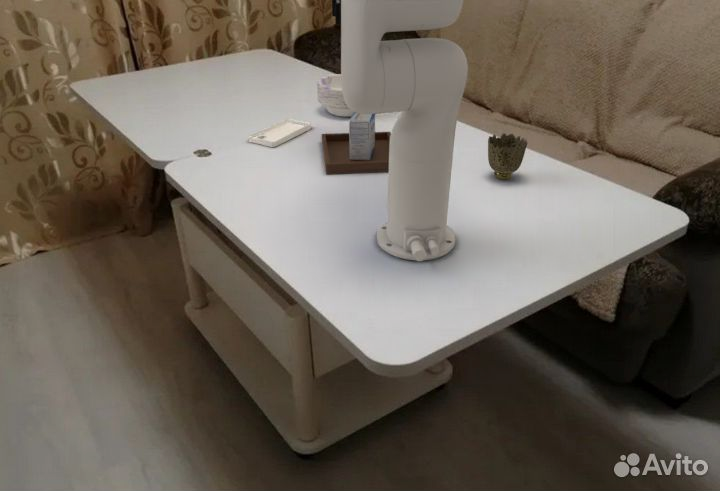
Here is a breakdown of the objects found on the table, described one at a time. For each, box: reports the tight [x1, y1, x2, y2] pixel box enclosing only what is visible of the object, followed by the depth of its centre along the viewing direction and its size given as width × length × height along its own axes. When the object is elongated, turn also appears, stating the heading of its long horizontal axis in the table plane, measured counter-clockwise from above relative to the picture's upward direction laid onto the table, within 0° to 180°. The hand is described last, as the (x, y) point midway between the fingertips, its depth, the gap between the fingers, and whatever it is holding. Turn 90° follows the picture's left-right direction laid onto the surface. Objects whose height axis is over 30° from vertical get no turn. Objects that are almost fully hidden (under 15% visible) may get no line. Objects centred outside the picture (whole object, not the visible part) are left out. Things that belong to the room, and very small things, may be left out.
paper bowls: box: [316, 73, 354, 118], centre depth 152 cm, size 15×15×8 cm
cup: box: [487, 132, 529, 181], centre depth 116 cm, size 8×7×8 cm
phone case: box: [248, 118, 312, 148], centre depth 139 cm, size 7×1×15 cm
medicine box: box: [348, 112, 376, 161], centre depth 125 cm, size 8×4×9 cm, turn 172°
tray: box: [321, 131, 392, 175], centre depth 127 cm, size 18×16×2 cm
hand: (341, 20), depth 122 cm, fingers open, 9 cm apart
